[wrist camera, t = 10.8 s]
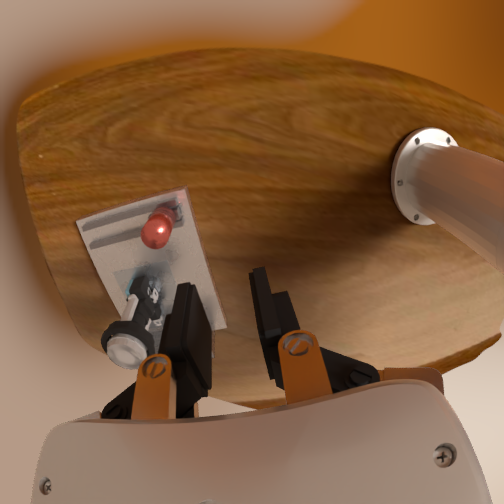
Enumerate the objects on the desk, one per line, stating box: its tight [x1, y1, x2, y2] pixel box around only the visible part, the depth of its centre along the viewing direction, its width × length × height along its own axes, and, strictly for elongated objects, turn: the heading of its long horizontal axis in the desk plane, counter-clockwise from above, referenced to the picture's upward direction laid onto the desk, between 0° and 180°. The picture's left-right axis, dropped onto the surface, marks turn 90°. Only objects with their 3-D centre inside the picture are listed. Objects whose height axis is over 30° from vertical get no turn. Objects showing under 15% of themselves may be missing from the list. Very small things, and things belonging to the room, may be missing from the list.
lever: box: [141, 207, 181, 249], centre depth 24 cm, size 3×2×5 cm
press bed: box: [76, 185, 227, 358], centre depth 28 cm, size 13×18×6 cm
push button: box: [101, 275, 163, 369], centre depth 26 cm, size 7×5×10 cm
